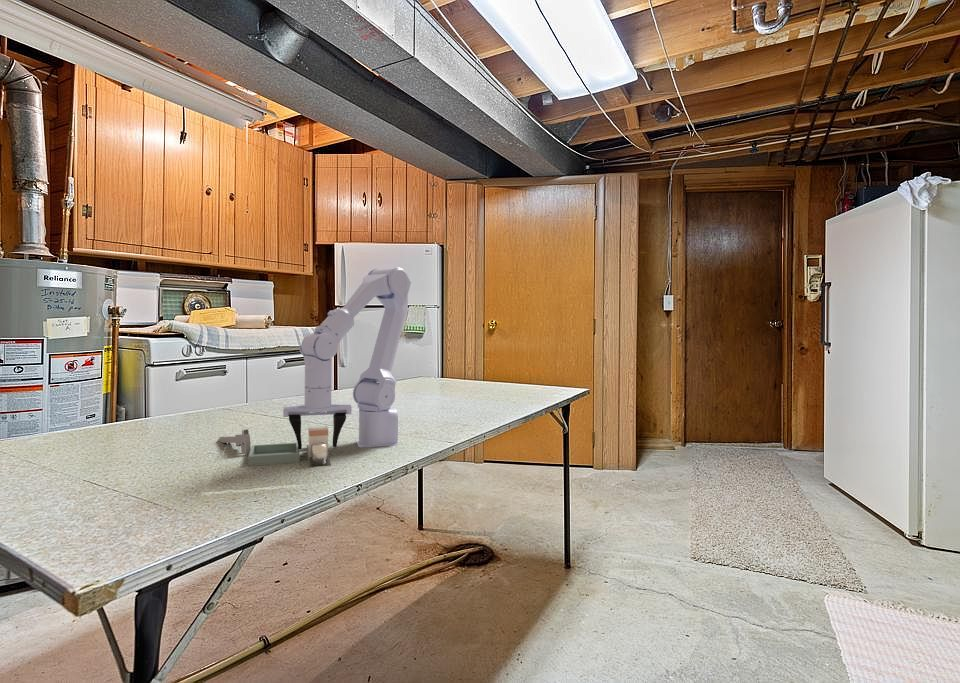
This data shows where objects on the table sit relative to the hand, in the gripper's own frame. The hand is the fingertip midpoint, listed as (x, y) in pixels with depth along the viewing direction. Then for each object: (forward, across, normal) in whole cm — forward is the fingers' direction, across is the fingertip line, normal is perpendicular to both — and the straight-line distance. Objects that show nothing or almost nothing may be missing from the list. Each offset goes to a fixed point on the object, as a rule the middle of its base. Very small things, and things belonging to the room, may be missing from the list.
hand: (317, 447), depth 116 cm
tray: (+2, +9, 0) cm, 9 cm away
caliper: (+3, +18, -13) cm, 23 cm away
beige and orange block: (+2, 0, 0) cm, 2 cm away
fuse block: (+2, 0, 0) cm, 2 cm away
